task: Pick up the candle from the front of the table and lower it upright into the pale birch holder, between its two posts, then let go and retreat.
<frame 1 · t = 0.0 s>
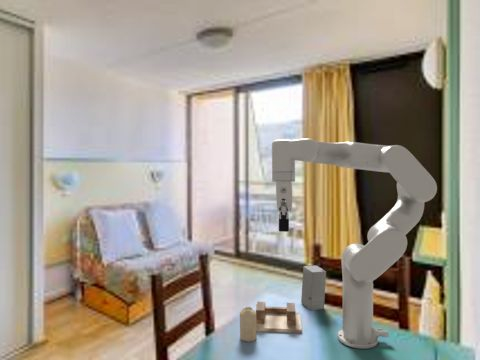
hand: (283, 228, 120), 37 cm above the table, tool pointing down, fingers open, 9 cm apart
candle: (248, 338, 121), on the table
holder: (275, 323, 132), on the table
skincare box: (313, 306, 147), on the table
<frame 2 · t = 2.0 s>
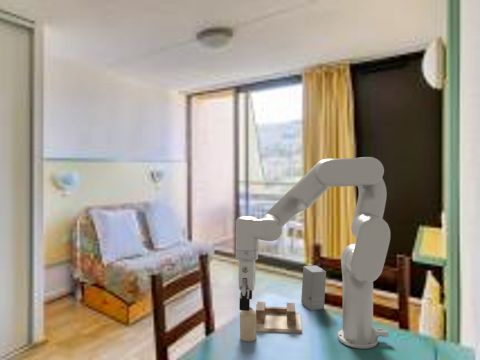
hand: (245, 304, 121), 11 cm above the table, tool pointing down, fingers open, 9 cm apart
nothing on the table moved.
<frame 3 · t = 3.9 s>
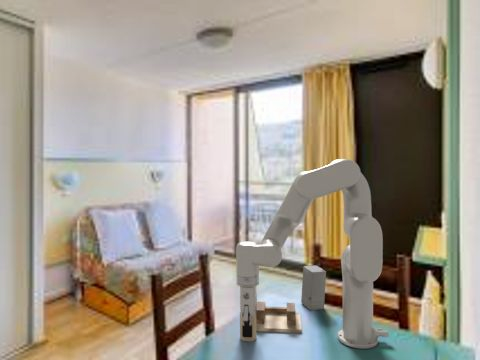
hand: (248, 331, 121), 2 cm above the table, tool pointing down, fingers closed on candle, 5 cm apart
candle: (248, 338, 121), on the table, touching gripper
everything else where it was.
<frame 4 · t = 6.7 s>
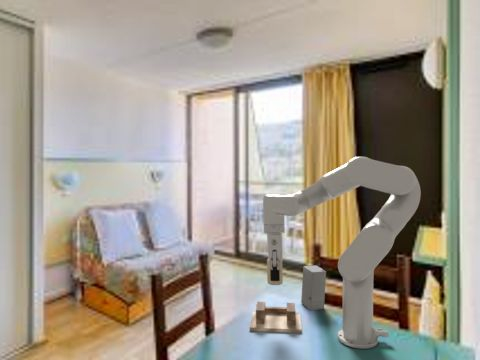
hand: (275, 277, 131), 17 cm above the table, tool pointing down, fingers closed on candle, 5 cm apart
candle: (275, 283, 131), point 15 cm above the table, touching gripper
everything else where it was.
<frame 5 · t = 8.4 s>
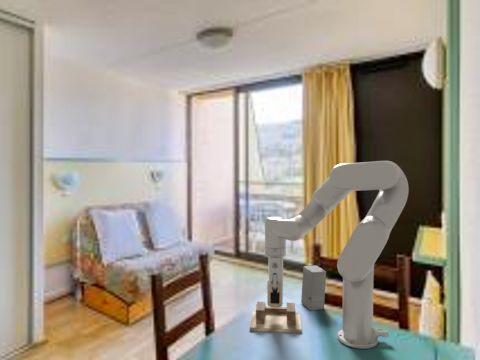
hand: (275, 299, 132), 9 cm above the table, tool pointing down, fingers closed on candle, 5 cm apart
candle: (274, 305, 132), point 7 cm above the table, touching gripper
everything else where it was.
when the fingers open (5 cm above the table, at t = 9.6 s): candle drops 1 cm, resting on holder.
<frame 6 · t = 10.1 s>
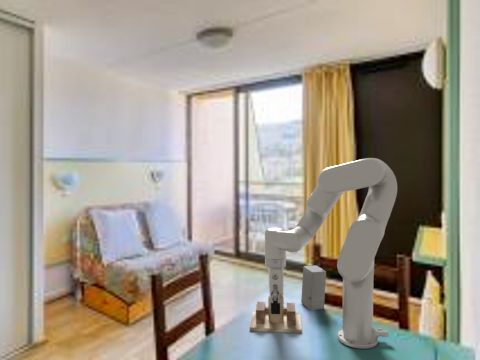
hand: (275, 308, 132), 5 cm above the table, tool pointing down, fingers open, 9 cm apart
candle: (276, 320, 132), point 1 cm above the table, touching holder
everything else where it was.
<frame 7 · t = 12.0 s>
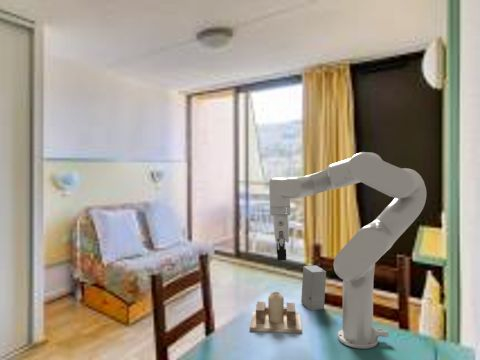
hand: (281, 256, 134), 24 cm above the table, tool pointing down, fingers open, 9 cm apart
nothing on the table moved.
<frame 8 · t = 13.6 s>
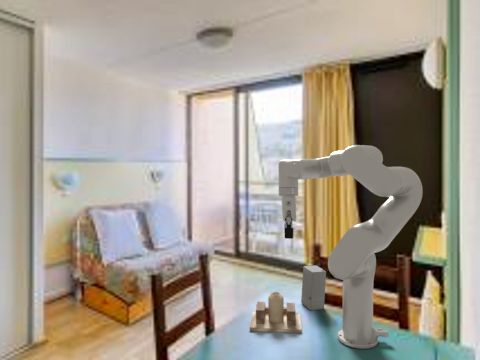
hand: (288, 235, 140), 30 cm above the table, tool pointing down, fingers open, 9 cm apart
nothing on the table moved.
at the end: candle 0.3 cm off-centre on the holder, point 1.0 cm above the holder's base; candle tilted 0°; the gripper is holding nothing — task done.
